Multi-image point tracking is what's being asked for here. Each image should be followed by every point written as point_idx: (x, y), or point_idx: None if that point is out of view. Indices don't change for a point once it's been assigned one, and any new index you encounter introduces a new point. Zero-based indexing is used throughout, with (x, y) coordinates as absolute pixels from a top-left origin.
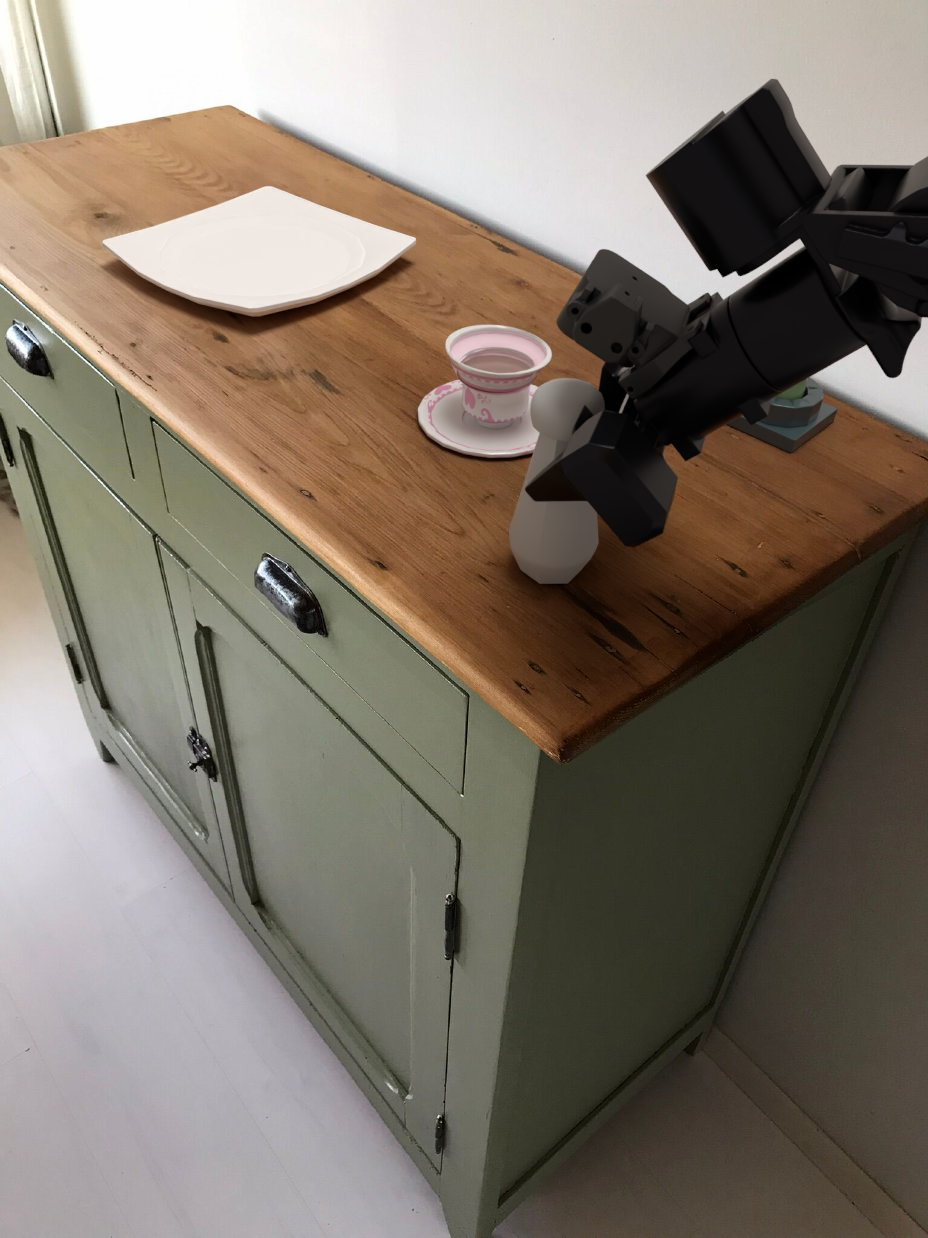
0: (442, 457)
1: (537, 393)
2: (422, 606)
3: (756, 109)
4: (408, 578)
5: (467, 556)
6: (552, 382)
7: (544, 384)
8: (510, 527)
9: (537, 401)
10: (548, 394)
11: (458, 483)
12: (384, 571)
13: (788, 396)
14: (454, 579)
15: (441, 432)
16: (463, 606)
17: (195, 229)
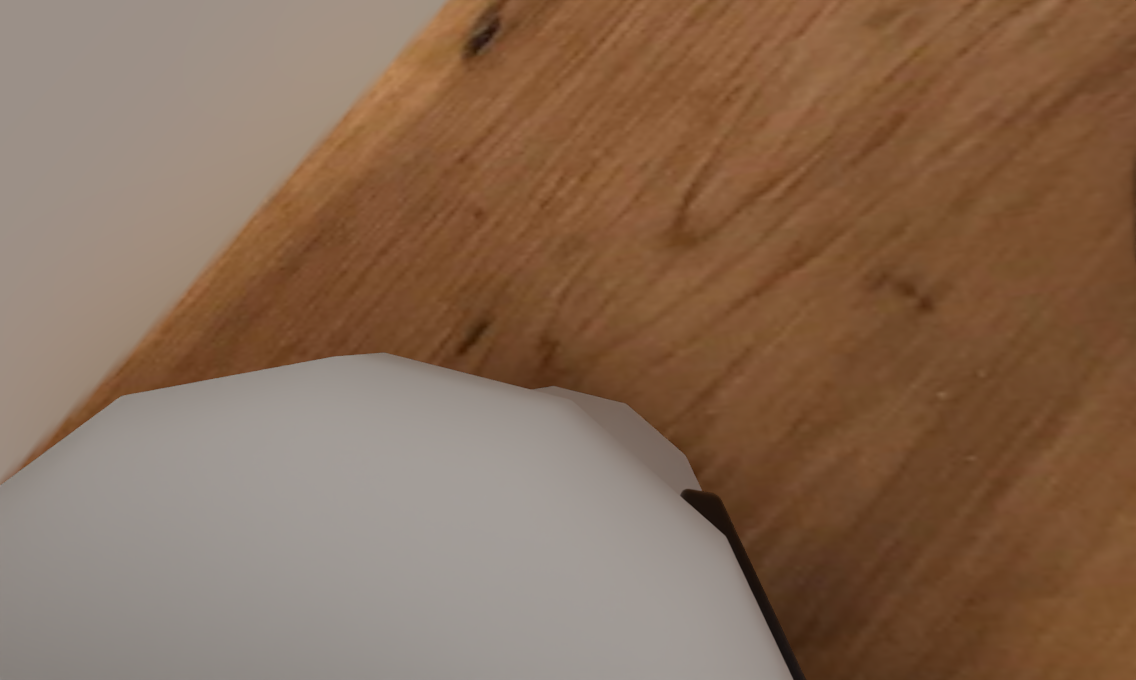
0: (1116, 98)
1: (232, 416)
2: (325, 186)
3: None
4: (437, 124)
5: (570, 274)
6: (476, 648)
7: (443, 506)
8: (537, 390)
9: (89, 436)
10: (73, 602)
11: (966, 180)
12: (457, 53)
13: None
14: (454, 253)
15: None
16: (340, 298)
17: None
